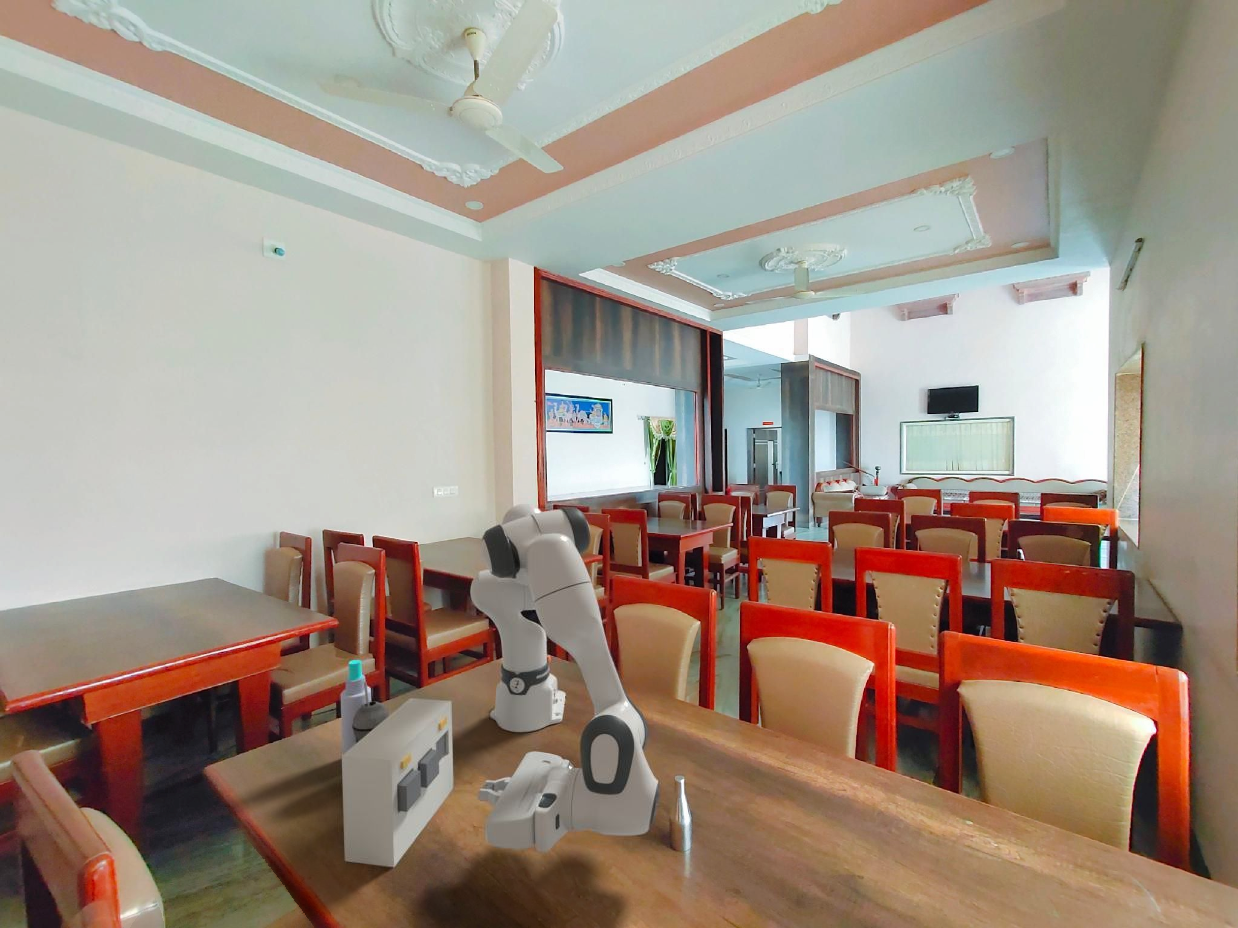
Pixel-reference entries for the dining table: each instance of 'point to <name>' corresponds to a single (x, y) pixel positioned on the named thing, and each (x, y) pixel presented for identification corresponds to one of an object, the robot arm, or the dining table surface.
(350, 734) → the spray bottle
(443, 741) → the key
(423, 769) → the key middle
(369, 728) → the beverage cup
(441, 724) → the key panel
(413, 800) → the key
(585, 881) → the dining table surface
